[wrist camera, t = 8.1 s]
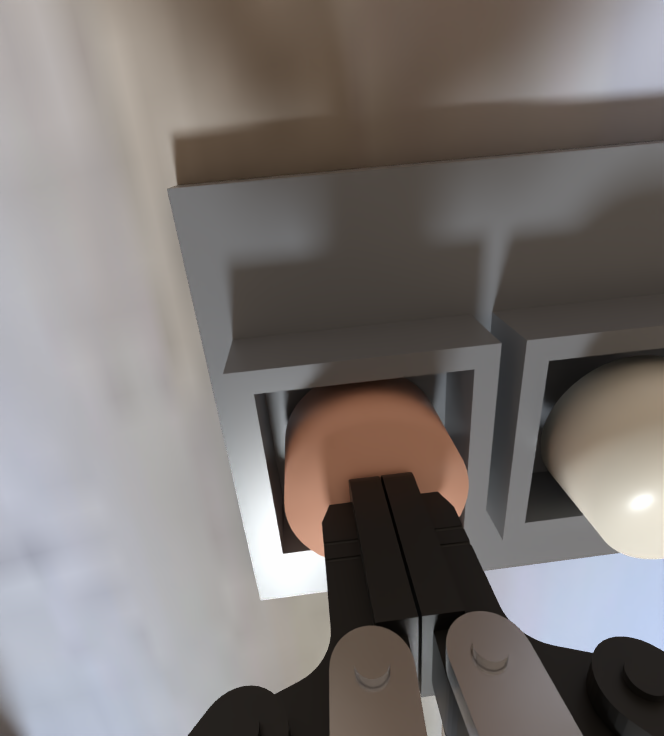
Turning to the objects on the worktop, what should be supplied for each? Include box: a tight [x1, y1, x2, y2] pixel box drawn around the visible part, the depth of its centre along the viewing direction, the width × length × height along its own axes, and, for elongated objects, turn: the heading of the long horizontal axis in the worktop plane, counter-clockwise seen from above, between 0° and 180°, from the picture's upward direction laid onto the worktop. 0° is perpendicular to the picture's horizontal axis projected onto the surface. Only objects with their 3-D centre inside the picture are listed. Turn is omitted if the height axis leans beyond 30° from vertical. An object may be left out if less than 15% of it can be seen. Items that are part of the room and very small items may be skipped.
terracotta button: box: [284, 377, 469, 557], centre depth 12 cm, size 4×4×2 cm
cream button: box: [540, 355, 664, 559], centre depth 11 cm, size 4×4×2 cm
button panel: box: [167, 140, 664, 600], centre depth 13 cm, size 14×22×3 cm, turn 95°
